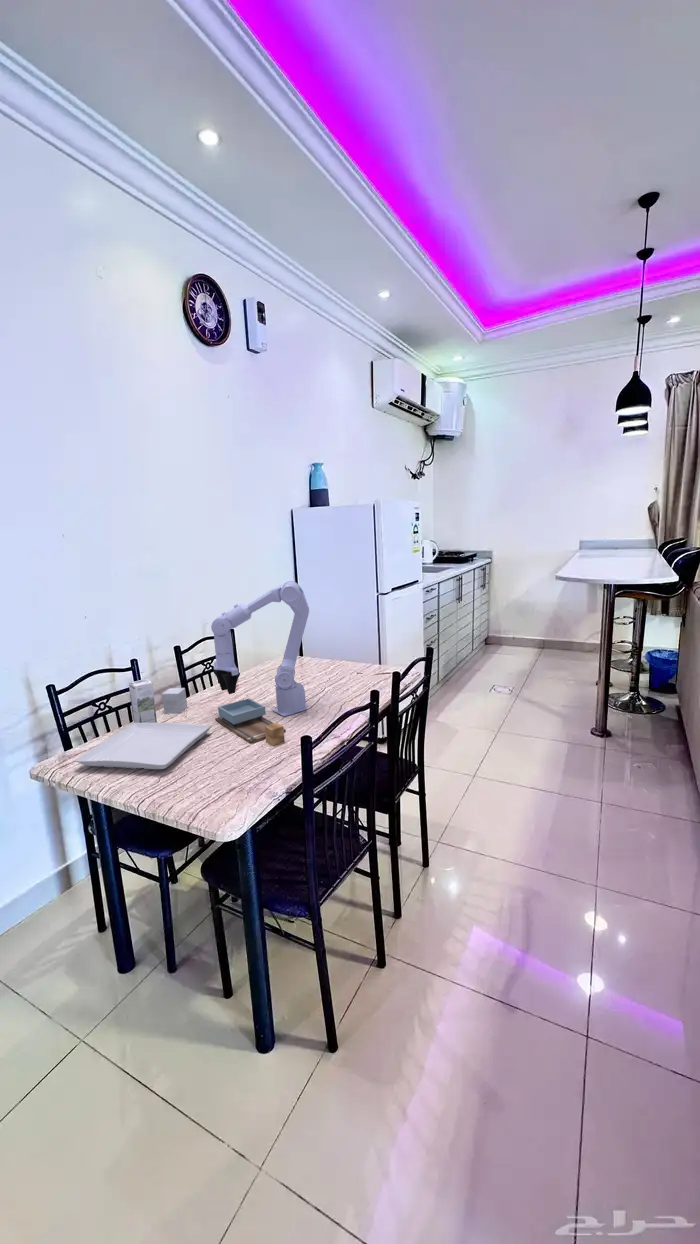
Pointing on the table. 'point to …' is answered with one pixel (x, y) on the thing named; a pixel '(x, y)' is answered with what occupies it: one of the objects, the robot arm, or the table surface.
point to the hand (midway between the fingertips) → (228, 691)
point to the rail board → (248, 728)
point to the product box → (174, 700)
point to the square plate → (145, 745)
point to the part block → (274, 734)
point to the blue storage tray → (241, 711)
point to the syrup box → (142, 701)
